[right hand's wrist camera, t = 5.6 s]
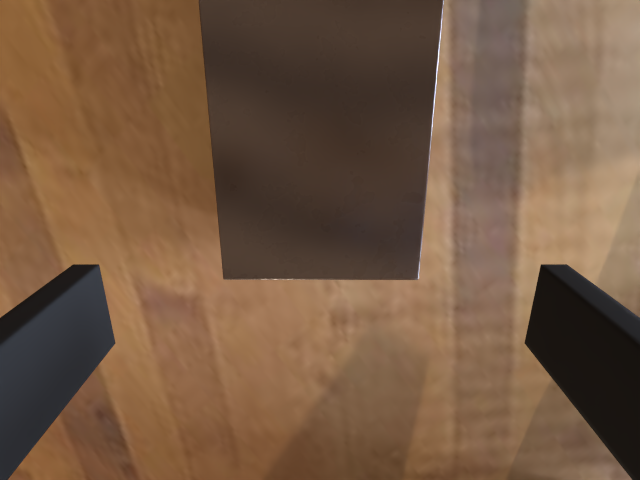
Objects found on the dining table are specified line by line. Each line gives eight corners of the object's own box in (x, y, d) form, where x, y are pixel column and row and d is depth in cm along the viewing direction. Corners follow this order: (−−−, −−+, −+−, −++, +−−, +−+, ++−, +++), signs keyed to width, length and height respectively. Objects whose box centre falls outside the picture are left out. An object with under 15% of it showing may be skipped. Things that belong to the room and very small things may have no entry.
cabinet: (227, -116, 24) (178, -224, 15) (415, -117, 23) (464, -224, 15) (249, 229, 31) (223, 280, 23) (392, 229, 31) (418, 280, 23)
